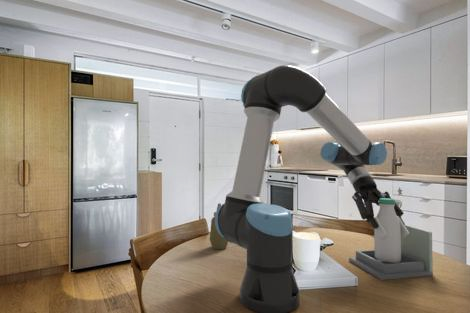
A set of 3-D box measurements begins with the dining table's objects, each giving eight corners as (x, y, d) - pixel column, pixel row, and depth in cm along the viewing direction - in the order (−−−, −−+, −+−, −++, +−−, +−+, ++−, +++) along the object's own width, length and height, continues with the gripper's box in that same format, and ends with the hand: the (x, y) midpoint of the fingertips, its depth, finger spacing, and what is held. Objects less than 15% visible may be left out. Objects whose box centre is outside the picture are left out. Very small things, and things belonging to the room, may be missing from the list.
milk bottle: (405, 264, 86) (404, 200, 86) (378, 262, 87) (377, 200, 88) (396, 255, 93) (395, 197, 94) (371, 254, 95) (371, 196, 95)
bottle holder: (381, 280, 81) (380, 235, 81) (349, 260, 96) (348, 223, 97) (432, 275, 84) (432, 232, 84) (393, 257, 100) (392, 221, 100)
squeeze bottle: (233, 246, 113) (232, 203, 113) (221, 252, 106) (221, 205, 107) (217, 243, 117) (217, 201, 118) (205, 248, 110) (205, 204, 111)
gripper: (380, 187, 108) (415, 240, 92) (333, 188, 104) (361, 243, 88) (390, 174, 103) (429, 228, 86) (341, 175, 99) (372, 231, 83)
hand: (395, 235), depth 87 cm, fingers closed on milk bottle, 7 cm apart
